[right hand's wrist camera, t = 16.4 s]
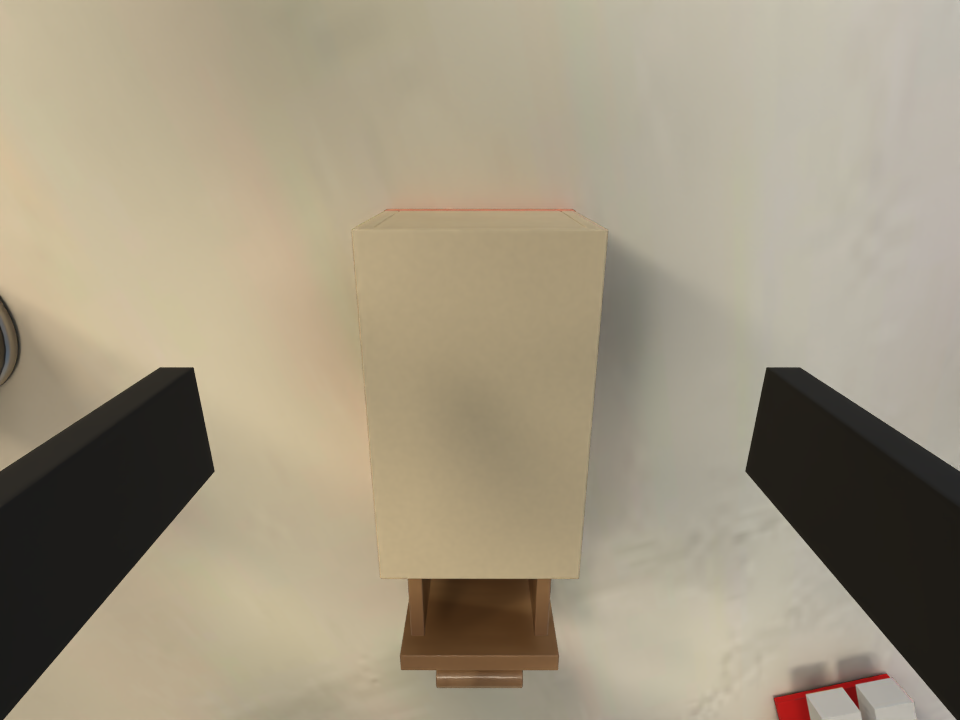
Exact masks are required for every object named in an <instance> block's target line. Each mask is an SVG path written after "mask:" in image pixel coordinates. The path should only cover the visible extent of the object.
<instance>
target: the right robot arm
mask: <svg viewBox="0 0 960 720" xmlns="http://www.w3.org/2000/svg"><path fill="white" fill-rule="evenodd" d="M213 473H214V466H213V461H212V456H211V451H210V446H209V441H208V436H207V432H206V427H205V422H204V417H203V412H202V407H201V402H200V397H199V392H198V387H197V382H196V378H195V373H194V368H159V369H157V370H155V371H154V372H152V373H151V374H149V375H148V376H146V377H145V378H143V379H142V380H140V381H139V382H137V383H135V384H134V385H132V386H131V387H129V388H128V389H126V390H125V391H123V392H122V393H120V394H119V395H117V396H115V397H114V398H112V399H111V400H109V401H108V402H106V403H105V404H103V405H102V406H100V407H99V408H97V409H96V410H94V411H92V412H91V413H89V414H88V415H86V416H85V417H83V418H82V419H80V420H79V421H77V422H76V423H74V424H72V425H71V426H69V427H68V428H66V429H65V430H63V431H62V432H60V433H59V434H57V435H56V436H54V437H52V438H51V439H49V440H48V441H46V442H45V443H43V444H42V445H40V446H39V447H37V448H36V449H34V450H32V451H31V452H29V453H28V454H26V455H25V456H23V457H22V458H20V459H19V460H17V461H16V462H14V463H13V464H11V465H9V466H8V467H6V468H5V469H3V470H2V471H0V720H3V719H4V718H5V717H6V716H7V715H8V714H9V712H10V711H11V710H12V709H13V708H14V707H15V705H16V704H17V703H18V702H19V701H20V699H21V698H22V697H23V696H24V695H25V694H26V692H27V691H28V690H29V689H30V688H31V687H32V685H33V684H34V683H35V682H36V681H37V679H38V678H39V677H40V676H41V675H42V674H43V672H44V671H45V670H46V669H47V668H48V667H49V665H50V664H51V663H52V662H53V661H54V660H55V658H56V657H57V656H58V655H59V654H60V652H61V651H62V650H63V649H64V648H65V647H66V645H67V644H68V643H69V642H70V641H71V640H72V638H73V637H74V636H75V635H76V634H77V632H78V631H79V630H80V629H81V628H82V627H83V625H84V624H85V623H86V622H87V621H88V620H89V618H90V617H91V616H92V615H93V614H94V612H95V611H96V610H97V609H98V608H99V607H100V605H101V604H102V603H103V602H104V601H105V600H106V598H107V597H108V596H109V595H110V594H111V592H112V591H113V590H114V589H115V588H116V587H117V585H118V584H119V583H120V582H121V581H122V580H123V578H124V577H125V576H126V575H127V574H128V573H129V571H130V570H131V569H132V568H133V567H134V565H135V564H136V563H137V562H138V561H139V560H140V558H141V557H142V556H143V555H144V554H145V553H146V551H147V550H148V549H149V548H150V547H151V545H152V544H153V543H154V542H155V541H156V540H157V538H158V537H159V536H160V535H161V534H162V533H163V531H164V530H165V529H166V528H167V527H168V525H169V524H170V523H171V522H172V521H173V520H174V518H175V517H176V516H177V515H178V514H179V513H180V511H181V510H182V509H183V508H184V507H185V506H186V504H187V503H188V502H189V501H190V500H191V498H192V497H193V496H194V495H195V494H196V493H197V491H198V490H199V489H200V488H201V487H202V486H203V484H204V483H205V482H206V481H207V480H208V478H209V477H210V476H211V475H212V474H213ZM746 473H747V474H748V475H749V476H750V477H751V478H752V480H753V481H754V482H755V483H756V484H757V486H758V487H759V488H760V489H761V490H762V491H763V493H764V494H765V495H766V496H767V497H768V498H769V500H770V501H771V502H772V503H773V504H774V506H775V507H776V508H777V509H778V510H779V511H780V513H781V514H782V515H783V516H784V517H785V518H786V520H787V521H788V522H789V523H790V524H791V525H792V527H793V528H794V529H795V530H796V531H797V533H798V534H799V535H800V536H801V537H802V538H803V540H804V541H805V542H806V543H807V544H808V545H809V547H810V548H811V549H812V550H813V551H814V553H815V554H816V555H817V556H818V557H819V558H820V560H821V561H822V562H823V563H824V564H825V565H826V567H827V568H828V569H829V570H830V571H831V573H832V574H833V575H834V576H835V577H836V578H837V580H838V581H839V582H840V583H841V584H842V585H843V587H844V588H845V589H846V590H847V591H848V593H849V594H850V595H851V596H852V597H853V598H854V600H855V601H856V602H857V603H858V604H859V605H860V607H861V608H862V609H863V610H864V611H865V612H866V614H867V615H868V616H869V617H870V618H871V620H872V621H873V622H874V623H875V624H876V625H877V627H878V628H879V629H880V630H881V631H882V632H883V634H884V635H885V636H886V637H887V638H888V640H889V641H890V642H891V643H892V644H893V645H894V647H895V648H896V649H897V650H898V651H899V652H900V654H901V655H902V656H903V657H904V658H905V660H906V661H907V662H908V663H909V664H910V665H911V667H912V668H913V669H914V670H915V671H916V672H917V674H918V675H919V676H920V677H921V678H922V679H923V681H924V682H925V683H926V684H927V685H928V687H929V688H930V689H931V690H932V691H933V692H934V694H935V695H936V696H937V697H938V698H939V699H940V701H941V702H942V703H943V704H944V705H945V707H946V708H947V709H948V710H949V711H950V712H951V714H952V715H953V716H954V717H955V718H956V719H957V720H960V471H958V470H957V469H955V468H954V467H952V466H951V465H949V464H947V463H946V462H944V461H943V460H941V459H940V458H938V457H937V456H935V455H934V454H932V453H931V452H929V451H928V450H926V449H924V448H923V447H921V446H920V445H918V444H917V443H915V442H914V441H912V440H911V439H909V438H908V437H906V436H904V435H903V434H901V433H900V432H898V431H897V430H895V429H894V428H892V427H891V426H889V425H888V424H886V423H884V422H883V421H881V420H880V419H878V418H877V417H875V416H874V415H872V414H871V413H869V412H868V411H866V410H864V409H863V408H861V407H860V406H858V405H857V404H855V403H854V402H852V401H851V400H849V399H848V398H846V397H845V396H843V395H841V394H840V393H838V392H837V391H835V390H834V389H832V388H831V387H829V386H828V385H826V384H825V383H823V382H821V381H820V380H818V379H817V378H815V377H814V376H812V375H811V374H809V373H808V372H806V371H805V370H803V369H801V368H766V373H765V378H764V382H763V387H762V392H761V397H760V402H759V407H758V412H757V417H756V422H755V427H754V432H753V436H752V441H751V446H750V451H749V456H748V461H747V466H746Z"/></svg>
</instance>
